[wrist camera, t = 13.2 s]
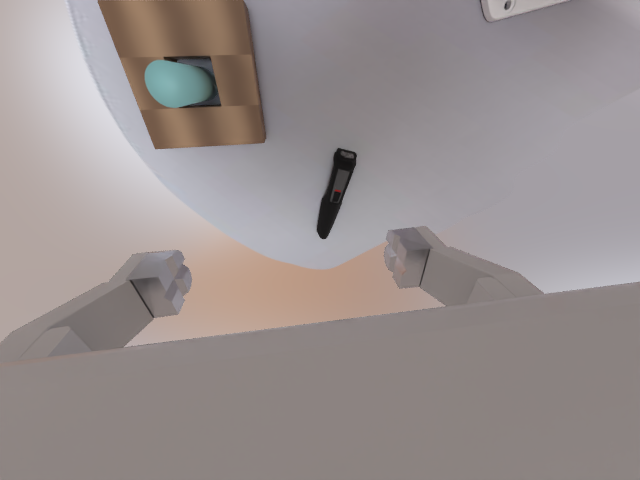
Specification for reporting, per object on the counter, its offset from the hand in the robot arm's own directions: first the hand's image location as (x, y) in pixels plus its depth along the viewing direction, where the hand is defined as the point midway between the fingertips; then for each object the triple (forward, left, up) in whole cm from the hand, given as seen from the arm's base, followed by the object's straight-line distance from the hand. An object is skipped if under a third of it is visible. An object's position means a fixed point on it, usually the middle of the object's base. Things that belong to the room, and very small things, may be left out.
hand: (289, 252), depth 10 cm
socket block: (+10, -6, -31) cm, 33 cm away
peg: (+10, -6, -31) cm, 33 cm away
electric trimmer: (-7, +11, -32) cm, 34 cm away
